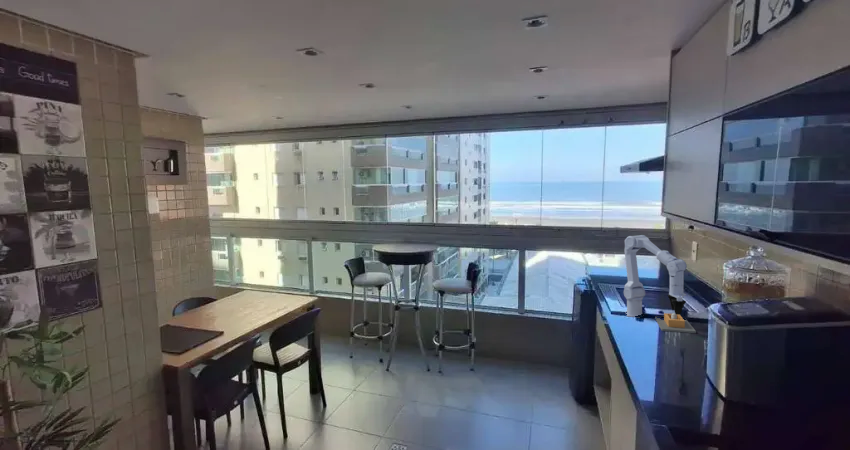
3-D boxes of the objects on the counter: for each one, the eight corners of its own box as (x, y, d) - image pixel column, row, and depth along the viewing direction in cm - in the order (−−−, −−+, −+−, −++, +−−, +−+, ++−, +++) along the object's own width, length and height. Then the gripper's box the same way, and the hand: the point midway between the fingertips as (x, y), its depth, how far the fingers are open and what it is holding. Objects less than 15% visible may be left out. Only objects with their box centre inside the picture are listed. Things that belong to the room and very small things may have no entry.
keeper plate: (654, 318, 210) (654, 306, 210) (685, 320, 205) (685, 308, 205) (661, 330, 192) (661, 318, 191) (696, 333, 187) (696, 320, 186)
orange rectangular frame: (664, 319, 204) (664, 313, 204) (679, 320, 202) (679, 314, 202) (668, 326, 194) (668, 319, 194) (684, 327, 192) (684, 320, 191)
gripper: (690, 288, 184) (689, 317, 185) (682, 281, 198) (682, 308, 199) (672, 287, 187) (672, 315, 188) (666, 281, 200) (665, 307, 201)
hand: (676, 311), depth 193 cm, fingers open, 7 cm apart
